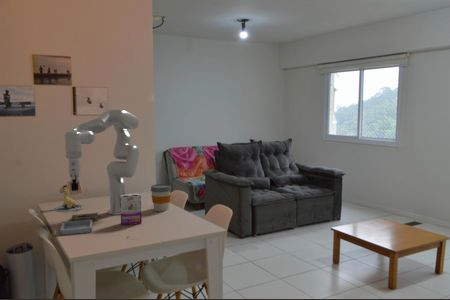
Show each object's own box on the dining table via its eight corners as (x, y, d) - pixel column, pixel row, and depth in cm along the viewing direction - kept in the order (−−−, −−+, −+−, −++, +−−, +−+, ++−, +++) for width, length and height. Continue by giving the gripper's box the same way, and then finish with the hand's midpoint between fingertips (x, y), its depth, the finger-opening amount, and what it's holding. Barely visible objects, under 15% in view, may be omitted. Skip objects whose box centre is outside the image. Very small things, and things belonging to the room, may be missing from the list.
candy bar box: (141, 221, 214) (140, 192, 213) (141, 223, 210) (140, 194, 208) (120, 222, 211) (119, 194, 210) (120, 225, 207) (119, 196, 205)
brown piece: (97, 216, 225) (97, 212, 225) (97, 220, 216) (97, 216, 215) (72, 218, 221) (72, 214, 221) (71, 223, 211) (70, 218, 211)
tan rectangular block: (82, 191, 201) (79, 179, 200) (82, 192, 198) (79, 180, 197) (70, 194, 199) (67, 181, 198) (70, 195, 196) (67, 182, 195)
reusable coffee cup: (173, 206, 245) (173, 184, 244) (168, 212, 233) (168, 188, 231) (154, 206, 247) (154, 183, 245) (148, 211, 234) (148, 187, 233)
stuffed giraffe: (65, 204, 253) (64, 181, 251) (88, 207, 248) (87, 183, 246) (47, 211, 238) (46, 187, 235) (72, 214, 233) (71, 189, 230)
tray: (92, 224, 210) (92, 219, 209) (91, 232, 195) (91, 227, 195) (63, 226, 205) (63, 222, 205) (60, 235, 191) (59, 230, 191)
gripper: (80, 156, 190) (81, 192, 192) (82, 153, 205) (83, 186, 207) (64, 157, 188) (65, 193, 189) (67, 153, 203) (68, 187, 205)
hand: (75, 189), depth 198 cm, fingers closed on tan rectangular block, 2 cm apart
